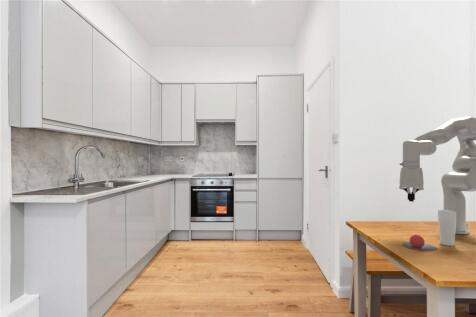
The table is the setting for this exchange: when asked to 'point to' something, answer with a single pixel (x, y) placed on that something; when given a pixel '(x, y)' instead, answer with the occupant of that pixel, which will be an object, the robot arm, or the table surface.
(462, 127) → the robot arm
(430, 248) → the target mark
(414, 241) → the ball
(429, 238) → the table surface
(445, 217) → the drinking glass
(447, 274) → the table surface
